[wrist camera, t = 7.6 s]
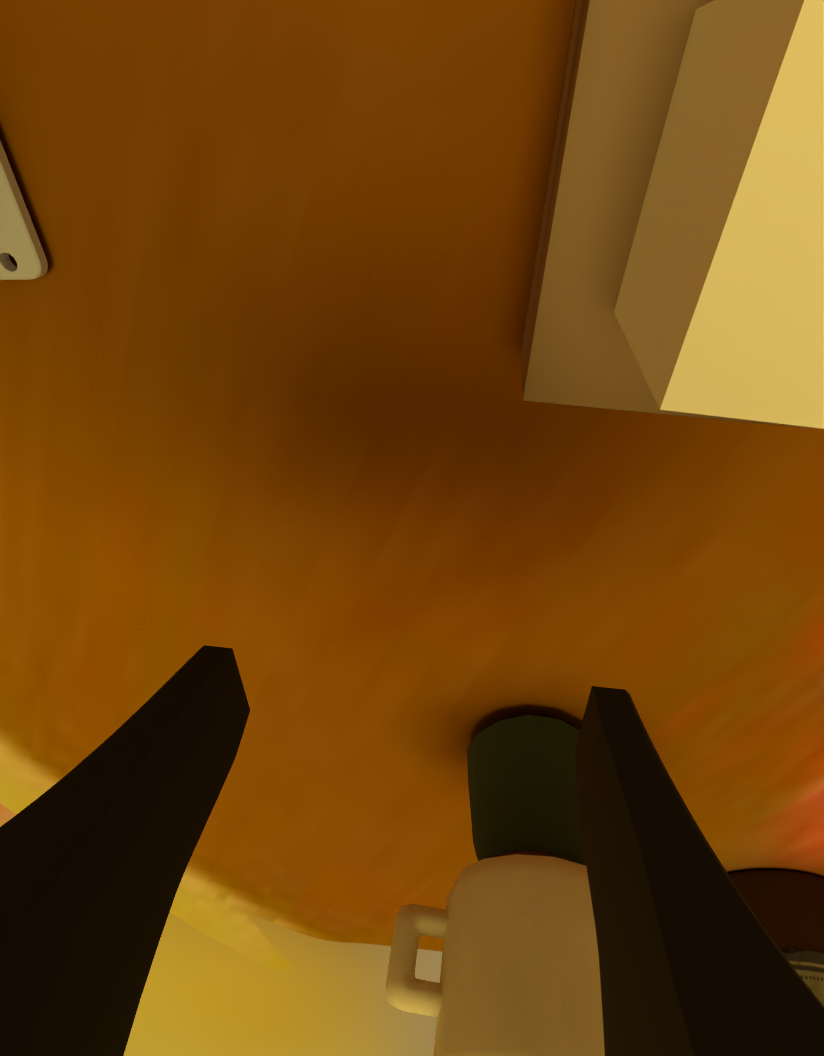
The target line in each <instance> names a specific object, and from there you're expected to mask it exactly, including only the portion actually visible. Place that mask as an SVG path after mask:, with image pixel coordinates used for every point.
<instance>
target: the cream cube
mask: <svg viewBox="0 0 824 1056" xmlns="http://www.w3.org/2000/svg"><path fill="white" fill-rule="evenodd" d="M614 314H615V316H616V318H617V320H618V322H619V324H620V326H621V329H622V331H623V333H624V335H625V337H626V339H627V341H628V343H629V345H630V348H631V350H632V352H633V354H634V356H635V358H636V360H637V362H638V364H639V367H640V369H641V371H642V373H643V375H644V377H645V379H646V381H647V383H648V386H649V388H650V390H651V392H652V394H653V396H654V398H655V400H656V402H657V405H658V407H659V409H660V410H667V411H676V412H684V413H693V414H702V415H710V416H719V417H727V418H736V419H744V420H753V421H762V422H770V423H779V424H787V425H796V426H804V427H813V428H822V429H824V0H714V1H712V2H710V3H708V4H706V5H704V6H702V7H700V8H698V9H696V10H695V14H694V18H693V21H692V25H691V29H690V33H689V36H688V40H687V44H686V47H685V51H684V55H683V59H682V62H681V66H680V70H679V73H678V77H677V81H676V84H675V88H674V92H673V96H672V99H671V103H670V107H669V110H668V114H667V118H666V121H665V125H664V129H663V133H662V136H661V140H660V144H659V147H658V151H657V155H656V158H655V162H654V166H653V170H652V173H651V177H650V181H649V184H648V188H647V192H646V196H645V199H644V203H643V207H642V210H641V214H640V218H639V221H638V225H637V229H636V233H635V236H634V240H633V244H632V247H631V251H630V255H629V258H628V262H627V266H626V270H625V273H624V277H623V281H622V284H621V288H620V292H619V296H618V299H617V303H616V307H615V310H614Z"/></svg>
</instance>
